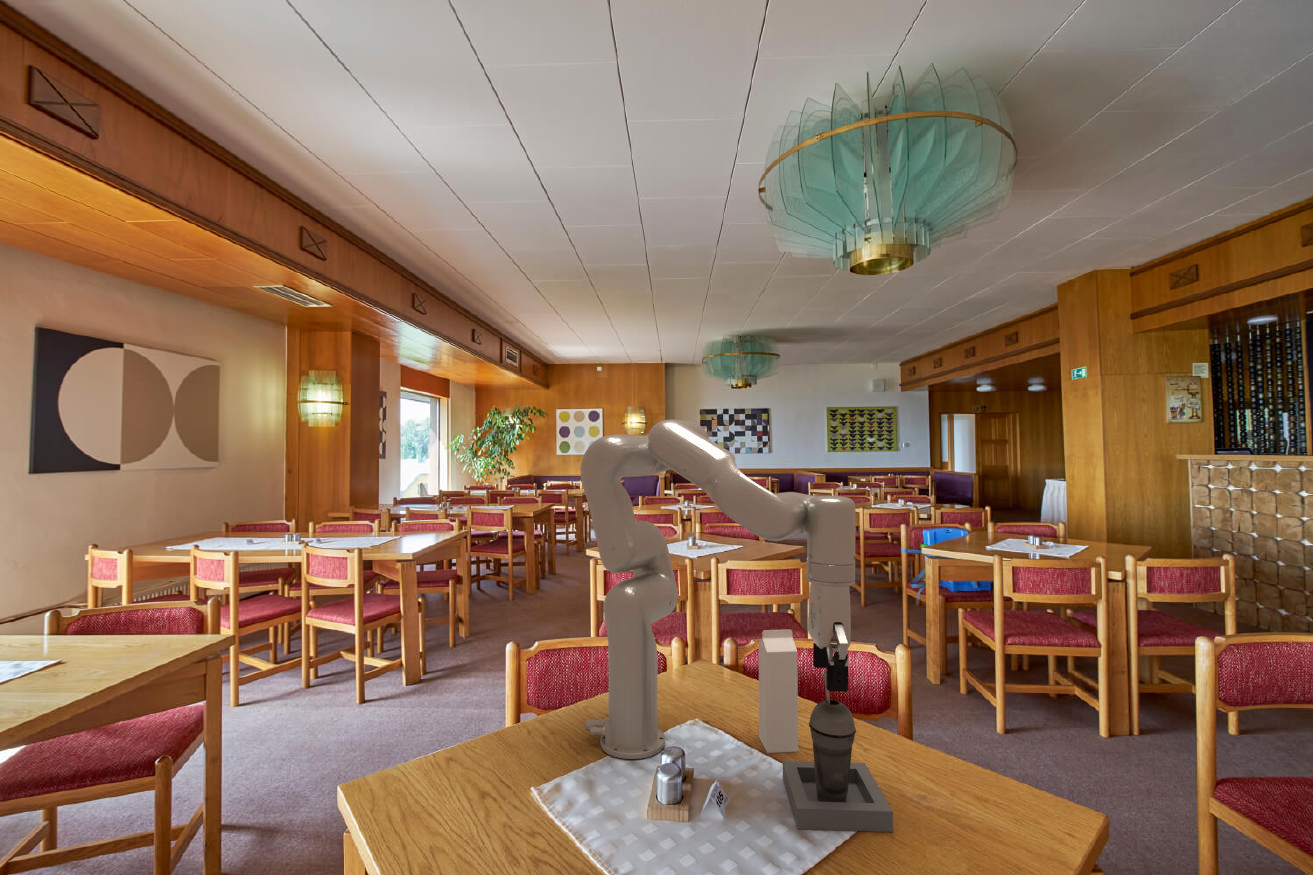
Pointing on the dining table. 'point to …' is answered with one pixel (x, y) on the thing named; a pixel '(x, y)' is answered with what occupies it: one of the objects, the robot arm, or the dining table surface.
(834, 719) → the beverage cup
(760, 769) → the dining table surface
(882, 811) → the tray
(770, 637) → the milk
